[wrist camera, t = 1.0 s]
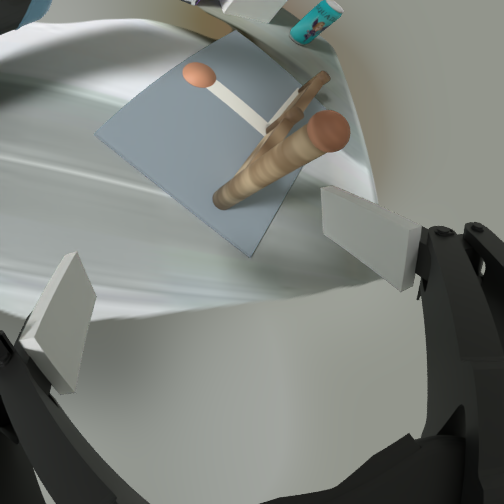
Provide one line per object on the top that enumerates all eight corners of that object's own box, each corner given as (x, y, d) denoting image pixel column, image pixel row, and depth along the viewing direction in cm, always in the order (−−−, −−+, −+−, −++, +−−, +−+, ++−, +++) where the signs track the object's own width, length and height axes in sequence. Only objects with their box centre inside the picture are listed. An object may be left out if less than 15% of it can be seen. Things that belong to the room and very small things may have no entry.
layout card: (94, 134, 31) (94, 133, 31) (234, 31, 46) (236, 29, 45) (249, 257, 41) (251, 257, 40) (330, 115, 55) (332, 114, 55)
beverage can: (290, 42, 54) (330, 7, 41) (285, 29, 54) (322, -6, 41) (308, 49, 57) (348, 17, 44) (302, 35, 57) (339, 3, 44)
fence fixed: (263, 131, 44) (289, 110, 38) (300, 87, 51) (323, 69, 45) (273, 141, 45) (300, 121, 39) (308, 94, 52) (331, 77, 46)
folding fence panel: (259, 131, 44) (360, 53, 24) (275, 145, 45) (381, 75, 26) (205, 201, 38) (321, 116, 18) (225, 217, 39) (353, 151, 20)
